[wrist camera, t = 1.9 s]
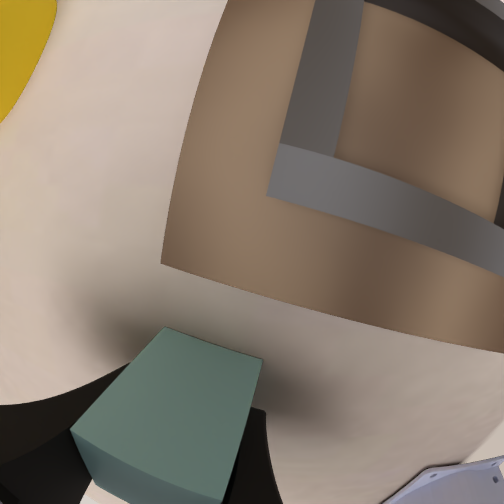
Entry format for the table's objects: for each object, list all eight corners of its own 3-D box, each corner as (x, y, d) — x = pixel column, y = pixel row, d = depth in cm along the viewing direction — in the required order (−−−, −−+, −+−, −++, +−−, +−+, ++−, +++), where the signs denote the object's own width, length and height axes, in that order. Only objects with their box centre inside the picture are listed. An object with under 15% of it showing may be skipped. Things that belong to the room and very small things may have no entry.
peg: (263, 359, 10) (222, 500, 4) (240, 422, 11) (203, 531, 5) (164, 326, 10) (69, 429, 5) (159, 393, 11) (95, 484, 6)
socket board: (544, 61, 4) (583, 46, 1) (496, 342, 8) (534, 386, 5) (266, -58, 6) (251, -109, 2) (173, 255, 10) (114, 291, 6)
